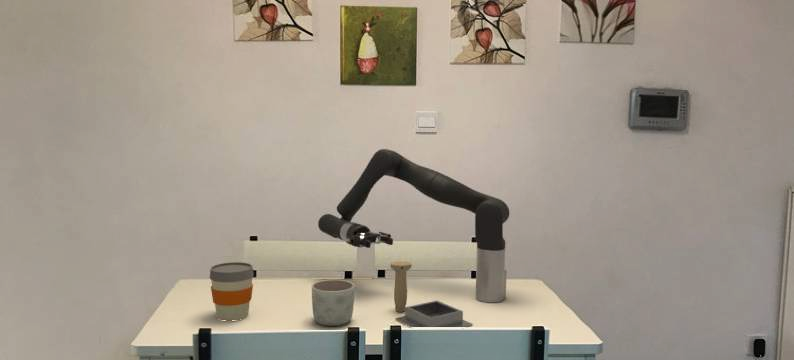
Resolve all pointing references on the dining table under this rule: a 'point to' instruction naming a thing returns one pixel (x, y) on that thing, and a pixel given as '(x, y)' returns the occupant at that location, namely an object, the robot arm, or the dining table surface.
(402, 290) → the handle
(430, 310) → the grey square tray
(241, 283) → the reusable coffee cup
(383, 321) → the dining table surface
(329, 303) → the planter
